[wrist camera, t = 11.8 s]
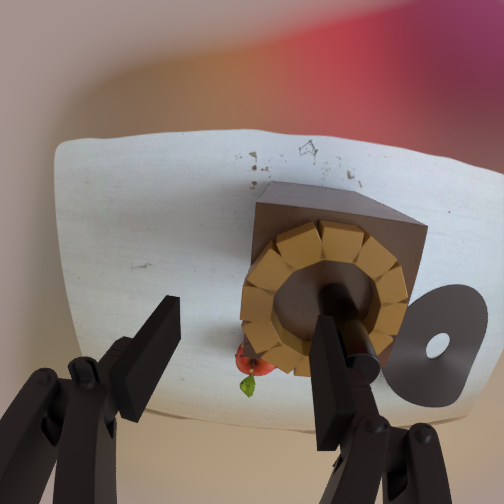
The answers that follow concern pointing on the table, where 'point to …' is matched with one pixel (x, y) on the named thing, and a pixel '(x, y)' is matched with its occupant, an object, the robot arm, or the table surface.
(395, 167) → the table surface
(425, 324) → the dark holed disc
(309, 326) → the stand
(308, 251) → the ring
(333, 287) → the post
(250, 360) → the apple
